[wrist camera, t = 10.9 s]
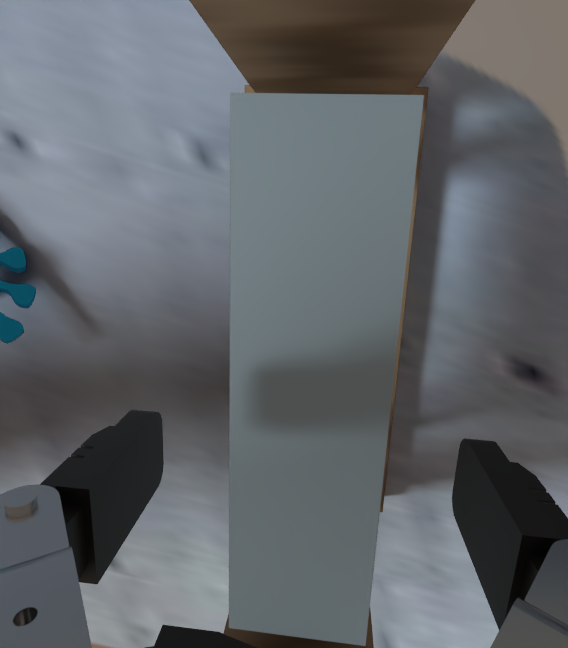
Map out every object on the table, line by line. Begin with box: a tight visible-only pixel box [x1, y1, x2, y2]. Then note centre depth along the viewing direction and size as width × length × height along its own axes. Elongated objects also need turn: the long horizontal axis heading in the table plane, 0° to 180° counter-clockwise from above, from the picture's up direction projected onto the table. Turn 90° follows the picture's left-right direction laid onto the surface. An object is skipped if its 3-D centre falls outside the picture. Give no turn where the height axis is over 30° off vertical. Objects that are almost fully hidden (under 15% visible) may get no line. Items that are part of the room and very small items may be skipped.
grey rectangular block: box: [229, 93, 424, 646], centre depth 16 cm, size 18×5×4 cm, turn 178°
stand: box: [189, 0, 475, 648], centre depth 19 cm, size 9×24×16 cm, turn 178°
